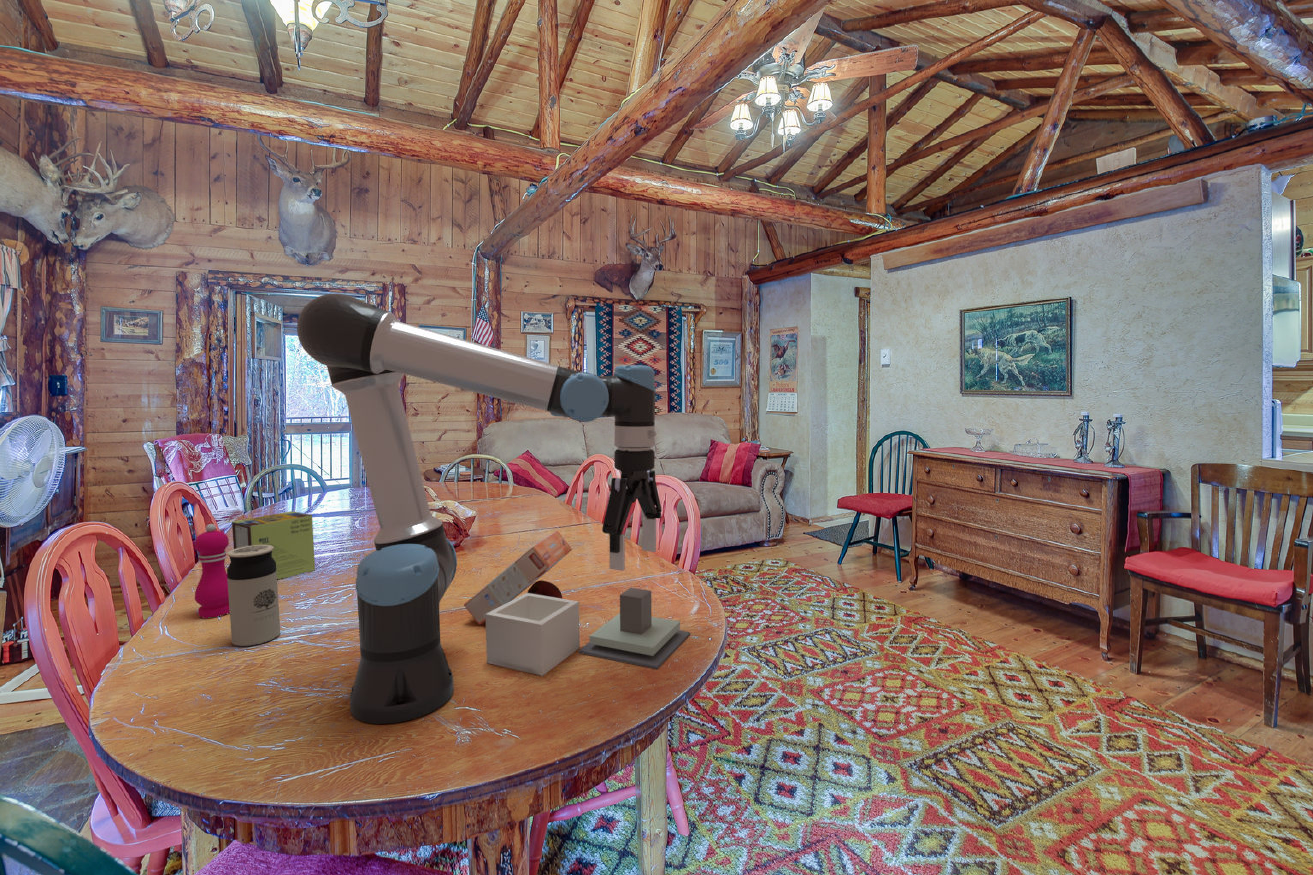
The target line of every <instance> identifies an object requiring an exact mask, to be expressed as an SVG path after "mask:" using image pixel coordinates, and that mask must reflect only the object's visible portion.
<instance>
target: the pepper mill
mask: <svg viewBox="0 0 1313 875" xmlns="http://www.w3.org/2000/svg"><path fill="white" fill-rule="evenodd" d="M216 528H217V527H216V525H215V524H213V523H210V524H207V525H206V526H205V532H202V533H200V534H199V535H197V537H196V539H195V540H194V548H195V551H196V552H198V553H199V554H198V556H197V557H198V562H199V563H200V564H201V568H202V569H201V575H200V576H201V577H200V580H199V582H198V584H197V586H196V589H195V591H194V601H195V602H196V603H197V604H199V605H200V606H199V607H198V610H197V611H198V617H199V616H200V617H204V618H203V619H209V618H208V617H216V618H218V617H217V616H220V615H224V614H227V613H229V614H230V608H229V593H228V579H227V569H226V566H225V562H226V559H227V558H228V555H227V553H228V552H227V551H226V549H227V547H228V546H229V543H230V542H229V540H230V539H229V537H228V535H227V534H226V533H225V532H223V531H220V530H216ZM227 615H228V614H227ZM224 616H225V615H224ZM200 617H199V618H200ZM220 617H221V616H220Z"/></svg>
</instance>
